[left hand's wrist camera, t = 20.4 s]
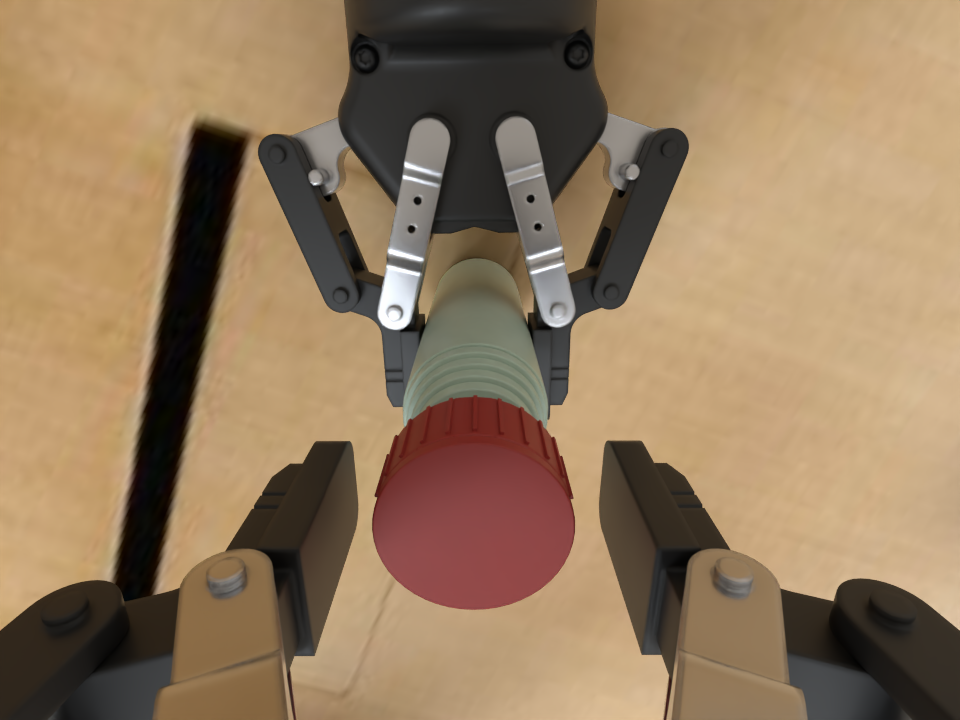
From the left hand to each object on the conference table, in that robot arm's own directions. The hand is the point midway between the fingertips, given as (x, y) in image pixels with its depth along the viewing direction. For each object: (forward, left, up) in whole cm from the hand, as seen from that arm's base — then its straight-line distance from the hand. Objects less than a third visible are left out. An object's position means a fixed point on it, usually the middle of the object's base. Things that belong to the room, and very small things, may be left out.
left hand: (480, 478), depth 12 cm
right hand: (0, -3, -9) cm, 9 cm away
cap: (0, 0, +2) cm, 2 cm away
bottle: (0, 0, -15) cm, 15 cm away
